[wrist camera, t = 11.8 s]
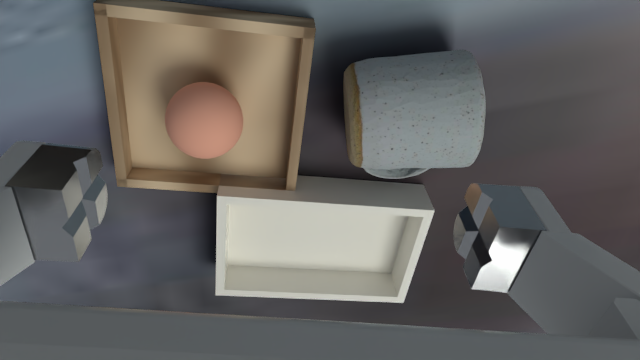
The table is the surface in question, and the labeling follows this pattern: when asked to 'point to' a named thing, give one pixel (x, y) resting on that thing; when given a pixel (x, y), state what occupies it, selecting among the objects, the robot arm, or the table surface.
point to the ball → (204, 120)
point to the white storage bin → (320, 238)
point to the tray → (203, 66)
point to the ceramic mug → (414, 112)
